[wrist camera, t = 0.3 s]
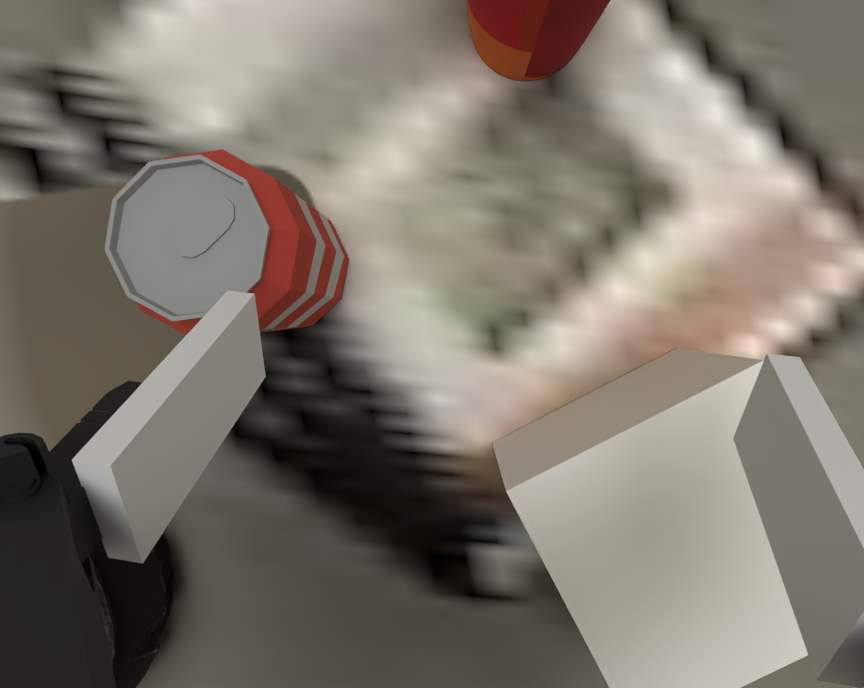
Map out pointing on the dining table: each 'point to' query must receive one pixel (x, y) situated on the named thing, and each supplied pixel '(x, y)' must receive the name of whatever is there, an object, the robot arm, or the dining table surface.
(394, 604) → the dining table surface
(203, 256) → the beverage can
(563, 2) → the paper cup
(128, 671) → the container
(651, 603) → the plain off-white cube
